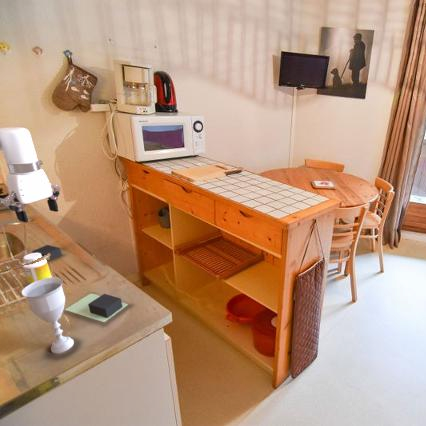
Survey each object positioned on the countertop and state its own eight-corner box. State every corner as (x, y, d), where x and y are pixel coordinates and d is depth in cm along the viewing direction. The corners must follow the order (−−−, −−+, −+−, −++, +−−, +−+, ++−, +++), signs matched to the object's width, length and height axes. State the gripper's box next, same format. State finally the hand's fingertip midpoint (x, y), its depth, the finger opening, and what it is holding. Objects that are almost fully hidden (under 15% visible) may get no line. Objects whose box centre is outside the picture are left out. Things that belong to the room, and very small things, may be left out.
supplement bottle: (56, 278, 102) (47, 250, 98) (48, 288, 97) (39, 259, 93) (34, 280, 100) (25, 252, 96) (26, 290, 95) (15, 261, 91)
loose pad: (34, 258, 111) (32, 251, 110) (49, 251, 116) (47, 244, 114) (47, 262, 110) (45, 254, 108) (61, 255, 114) (59, 247, 113)
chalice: (61, 362, 73) (40, 299, 66) (36, 356, 74) (12, 294, 67) (88, 339, 80) (71, 279, 73) (64, 334, 81) (45, 275, 74)
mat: (64, 311, 88) (64, 309, 88) (91, 294, 96) (90, 293, 95) (104, 323, 85) (104, 322, 85) (128, 305, 92) (128, 304, 92)
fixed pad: (90, 312, 88) (87, 304, 87) (106, 301, 92) (104, 293, 91) (107, 318, 86) (105, 309, 85) (122, 306, 91) (120, 298, 90)
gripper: (44, 160, 110) (57, 205, 117) (-17, 172, 94) (2, 224, 101) (60, 162, 108) (72, 209, 115) (1, 175, 93) (19, 228, 99)
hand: (39, 216), depth 108 cm, fingers open, 9 cm apart
